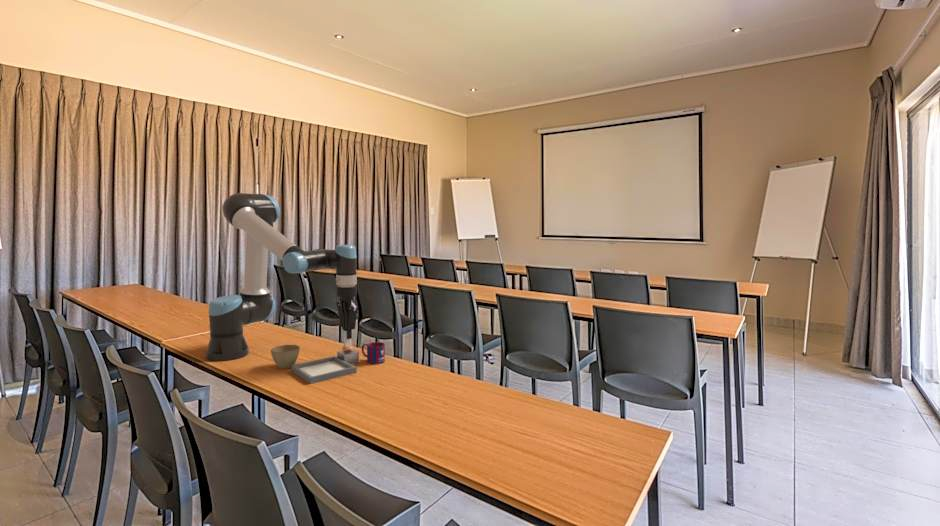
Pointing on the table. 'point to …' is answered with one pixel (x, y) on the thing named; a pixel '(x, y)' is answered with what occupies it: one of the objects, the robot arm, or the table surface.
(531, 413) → the table surface
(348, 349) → the button
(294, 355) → the flower pot
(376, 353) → the cup
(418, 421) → the table surface
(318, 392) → the table surface
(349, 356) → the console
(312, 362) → the tray
